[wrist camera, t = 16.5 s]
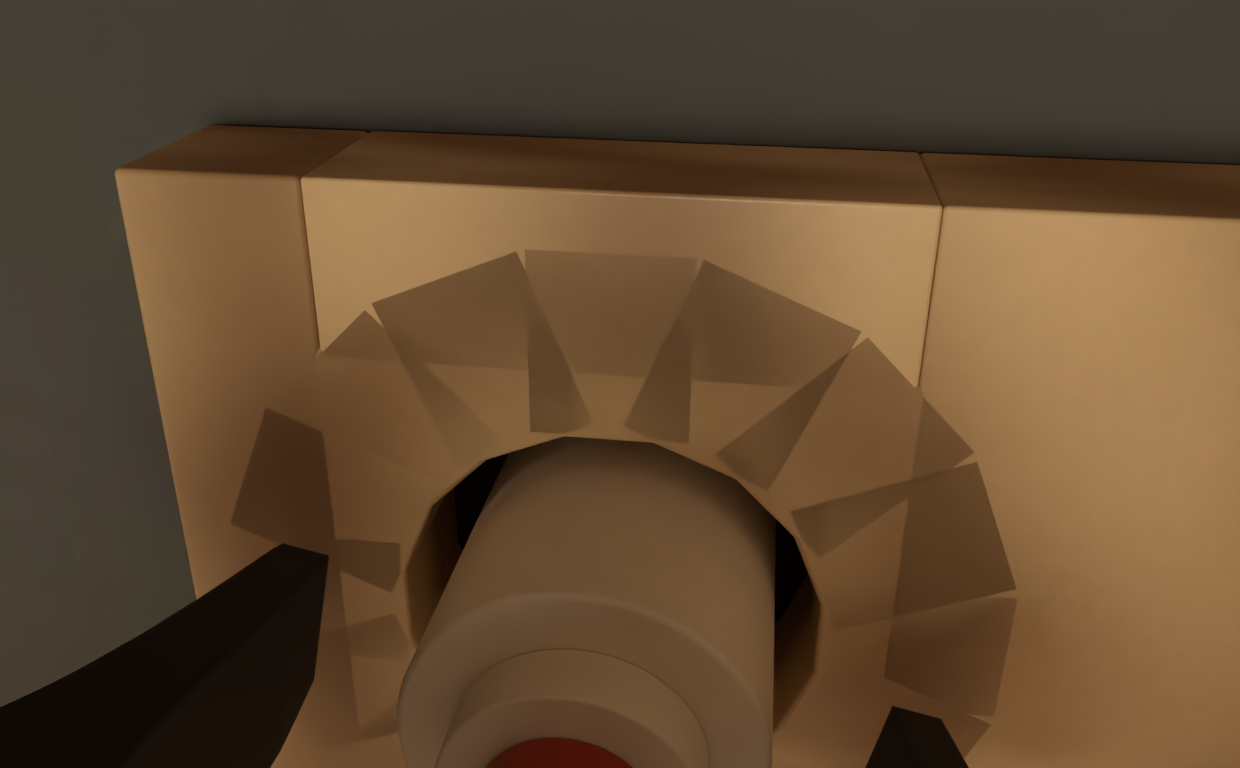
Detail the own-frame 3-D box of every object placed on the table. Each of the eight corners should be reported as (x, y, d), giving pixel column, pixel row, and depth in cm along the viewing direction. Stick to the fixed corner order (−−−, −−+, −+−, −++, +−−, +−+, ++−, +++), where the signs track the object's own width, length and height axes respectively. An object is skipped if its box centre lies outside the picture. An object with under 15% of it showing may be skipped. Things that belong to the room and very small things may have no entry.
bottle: (733, 662, 18) (705, 1087, 12) (476, 593, 18) (311, 979, 12) (811, 435, 16) (827, 800, 10) (522, 359, 16) (354, 673, 10)
